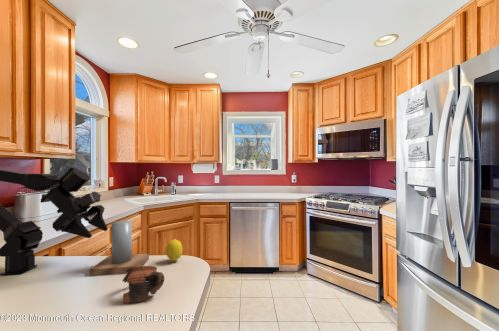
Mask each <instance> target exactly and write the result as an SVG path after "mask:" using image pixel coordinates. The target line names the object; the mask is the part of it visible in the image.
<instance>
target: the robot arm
mask: <svg viewBox="0 0 499 331" xmlns="http://www.w3.org/2000/svg"><path fill="white" fill-rule="evenodd" d="M90 179H91V177H90V176H89V175H88V174H87V173H86V172H84V171H82V170H81V169H78V168H76V167H73V166H70V168H69V169H68V170H67V171H66V172H65V173H64V174H63V175H62V176H61V177H58V175H57V174H56V173H29V172H22V171H17V170H10V169H5V168H0V182H3V183H4V182H5V183H11V184H17V185H20V186H23V187H24V188H26V189H28V190H31V191H33V192H44V191H46V192H47V193H43V194H41V198H40V203H42V204H43V203H49V202H50V203H51V204H53V206H55V207H56V208H57V210H56V212H57V213H58V214H60V215H59V216H58V217H57V218H56V219H55V220H54V221H53V222H52V228H53V230H54V231H56V232H60V231H61V232H62V233H67V234H73V235H76V236H79V237H84V238H85V239H86V238H87V239H90V238H92V237H93V234H92V233H91V232H90V231H89V230H88V229H87V227H86V226H85V225H84V224H83V222H82V219H84V221H86V222H87V223H88V224H89V225H91V226H93V227H94V228H97V229H99V230H101V231H104V232H107V231H108V230H109V228H108V226H107V224H106V222H105V220H104V218H103V213H104V212H105V209H106V207H105V206H103V205H102V204H95V203H99V202H101V197H102V196H101V194H100V193H99V192H97V191H92V192H89V193H86V194H84V195H83V196H81V197H80V196H75V195H73V194H72V193H77V192H78V191H80V190H81V189H82V188H83V187H84V186H85V185H86V184H87V183H88V182H89V181H90ZM93 204H95V205H93ZM92 205H93V206H92ZM41 228H42V227H41V226H39V225H37V224H36V223H35V222H34V221H33V220H29V221H25V222H23V221H21V220H19V219H18V218H17V217H16V216H15V215H13V214H12V213H11V212H10V211H9V210H7V208H5V207H3V205H1V204H0V231H1V232H2V234H3V240H4V242H5V244H3V245H2V246H1V247H0V258H4V271H3V272H1V273H0V276H7V275H8V276H9V275H21V274H25V273H26V272H28V271H31V270H33V269H34V268H37V267H38V264H36V261H35V260H36V254H34V253H35V250H34V249H38V247H39V245H40V243H41V242H42V240H43V234H44V233H43V231H42V230H41Z"/></svg>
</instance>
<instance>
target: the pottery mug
mask: <svg viewBox="0 0 499 331" xmlns="http://www.w3.org/2000/svg"><path fill="white" fill-rule="evenodd" d="M157 270H158V267H157V266H155V265H143V266H140V267H134V268H130V269H128V270H127V272H128V273H126V275H125V276H124V277H123V278H122V282H124V284H126V283H127V284H128V292H124V293H123V295H122V298H123V304H129V303H140V302H147V301H148V300H149V296H150V295H153V296H154V295H155V294H156V293H157V292H158V291H160V289H161V288H162V286H163V285H164V282H165V275H164V273H163V272H161V271H157ZM149 293H150V294H149Z"/></svg>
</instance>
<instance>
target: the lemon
mask: <svg viewBox="0 0 499 331" xmlns="http://www.w3.org/2000/svg"><path fill="white" fill-rule="evenodd" d="M165 251H166V253H165V254H166V257H167V258H168V259H169V260H171V261H173V262H176V261H177V260H179V259H180V258H181V256H182V255H183V244H182V242H181V241H180V240H178V239H176V238H173V239H172V240H170V241H169V242H168V244H167V246H166V250H165Z"/></svg>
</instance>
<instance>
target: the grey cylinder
mask: <svg viewBox="0 0 499 331" xmlns="http://www.w3.org/2000/svg"><path fill="white" fill-rule="evenodd" d="M132 224H133V222H132V220H118V221H113V222H111V256H112V263H113V264H122V263H126V262H129V261H131V260H132V255H133V249H132V248H133V242H132V241H133V238H132V237H133V236H132V235H133V233H132V232H133V231H132V230H133V228H132V227H133V225H132Z"/></svg>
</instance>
